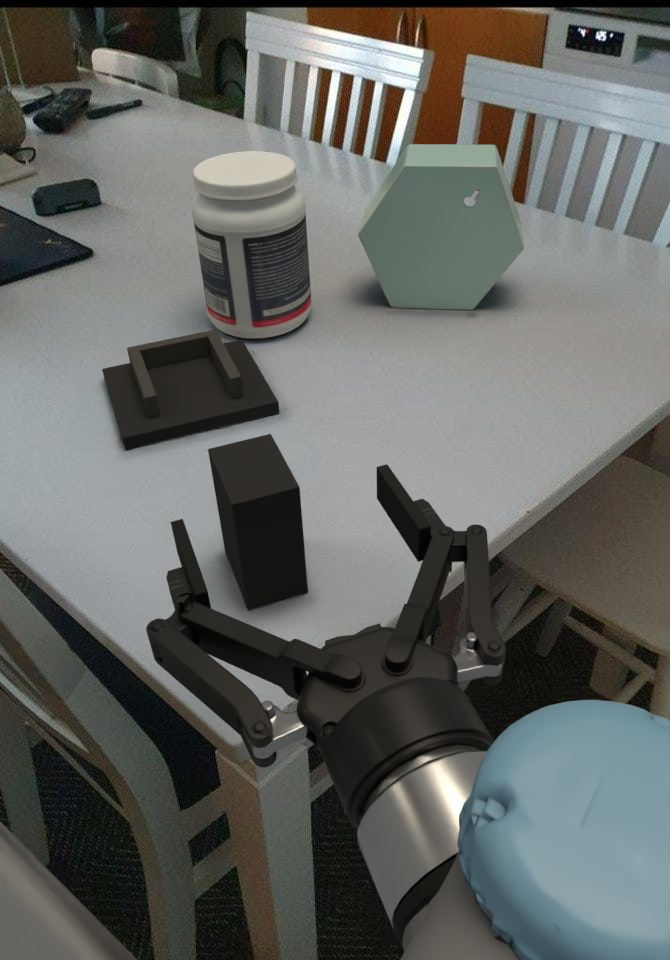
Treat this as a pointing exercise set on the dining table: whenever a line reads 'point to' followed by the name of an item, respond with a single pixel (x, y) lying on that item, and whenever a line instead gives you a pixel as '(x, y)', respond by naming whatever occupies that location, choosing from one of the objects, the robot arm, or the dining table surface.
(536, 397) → the dining table surface
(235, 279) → the supplement tub
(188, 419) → the base pad
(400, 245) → the green hexagonal block
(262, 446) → the tall dark brick
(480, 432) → the dining table surface
